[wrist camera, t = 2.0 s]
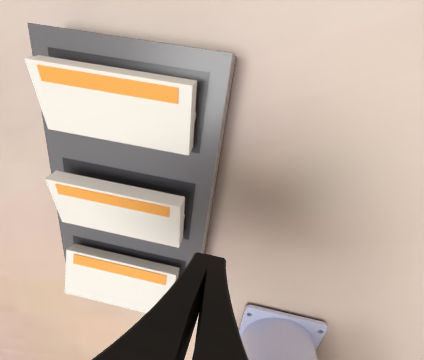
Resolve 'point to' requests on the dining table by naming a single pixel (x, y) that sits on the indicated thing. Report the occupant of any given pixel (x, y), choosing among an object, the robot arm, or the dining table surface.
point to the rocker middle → (118, 208)
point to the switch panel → (141, 156)
